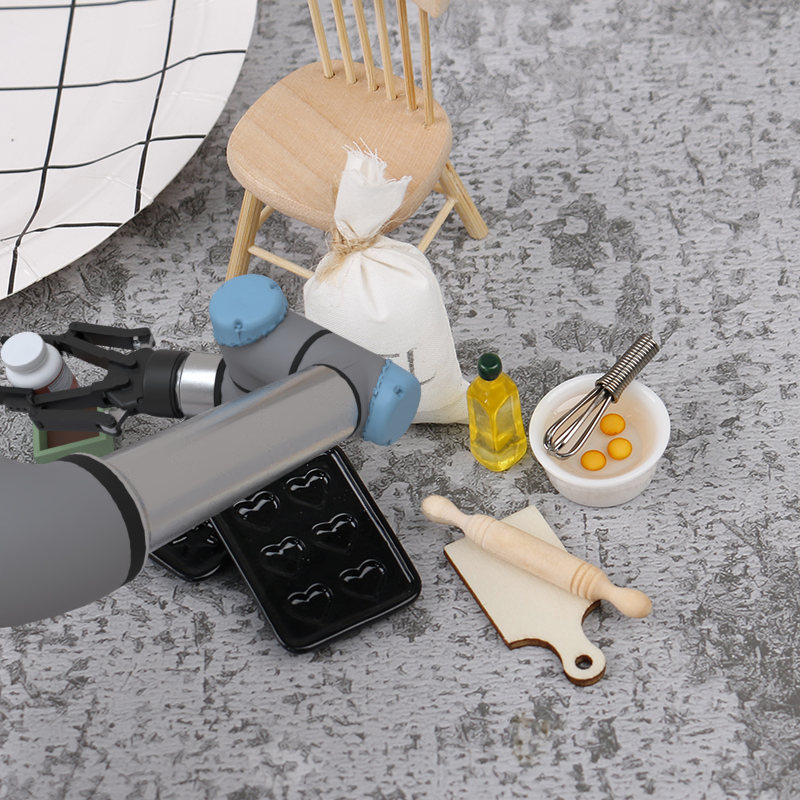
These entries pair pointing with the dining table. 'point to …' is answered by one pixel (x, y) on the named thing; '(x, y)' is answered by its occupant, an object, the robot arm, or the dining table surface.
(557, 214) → the dining table surface
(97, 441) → the holder
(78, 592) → the robot arm
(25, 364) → the pill bottle
